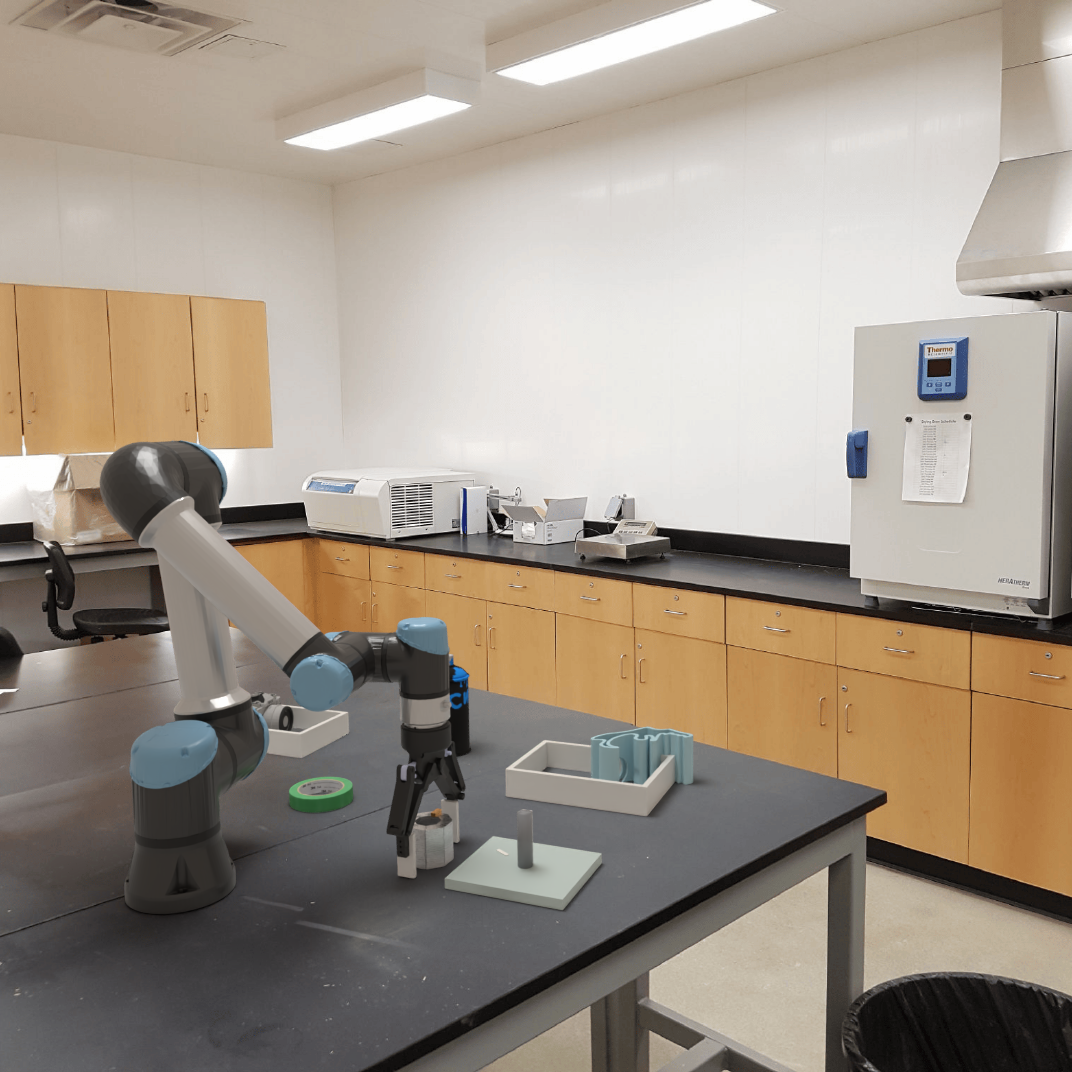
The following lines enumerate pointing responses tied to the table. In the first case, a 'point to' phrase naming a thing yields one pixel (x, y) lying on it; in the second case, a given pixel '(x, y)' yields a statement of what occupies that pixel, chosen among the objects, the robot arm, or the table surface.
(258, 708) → the camera
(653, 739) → the light blue curvy piece
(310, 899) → the table surface
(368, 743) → the table surface
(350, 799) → the tape roll
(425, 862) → the grey piece
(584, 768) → the dispenser corral
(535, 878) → the peg stand
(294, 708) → the camera corral
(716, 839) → the table surface
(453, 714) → the aerosol can
